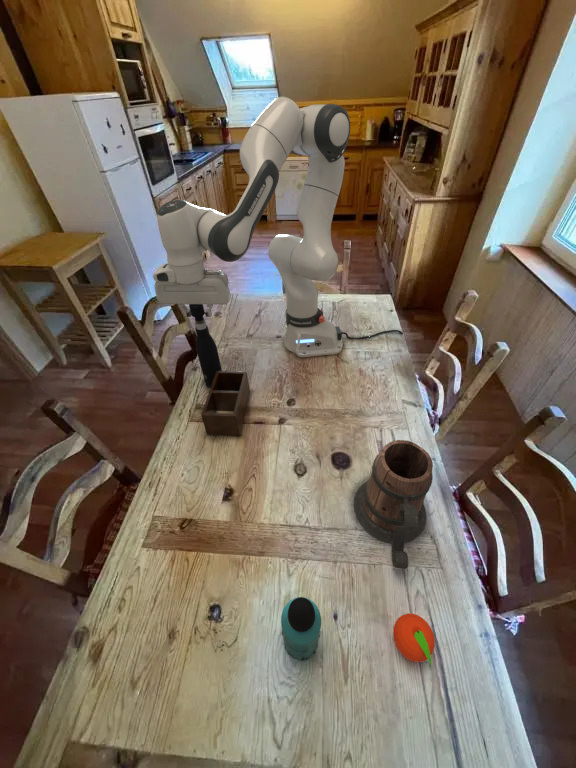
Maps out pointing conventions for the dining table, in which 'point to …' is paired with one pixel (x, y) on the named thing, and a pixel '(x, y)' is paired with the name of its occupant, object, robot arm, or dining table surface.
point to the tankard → (396, 497)
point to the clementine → (414, 638)
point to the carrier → (226, 403)
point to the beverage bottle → (301, 628)
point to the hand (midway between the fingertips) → (198, 316)
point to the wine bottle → (205, 346)
